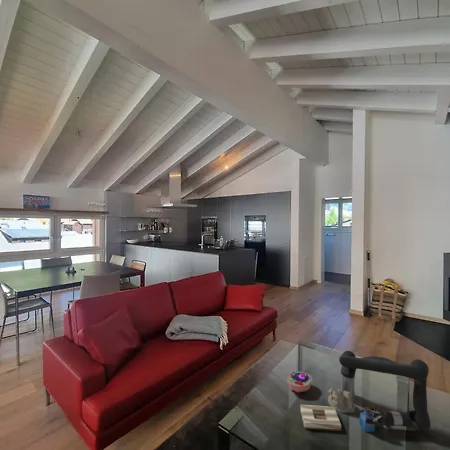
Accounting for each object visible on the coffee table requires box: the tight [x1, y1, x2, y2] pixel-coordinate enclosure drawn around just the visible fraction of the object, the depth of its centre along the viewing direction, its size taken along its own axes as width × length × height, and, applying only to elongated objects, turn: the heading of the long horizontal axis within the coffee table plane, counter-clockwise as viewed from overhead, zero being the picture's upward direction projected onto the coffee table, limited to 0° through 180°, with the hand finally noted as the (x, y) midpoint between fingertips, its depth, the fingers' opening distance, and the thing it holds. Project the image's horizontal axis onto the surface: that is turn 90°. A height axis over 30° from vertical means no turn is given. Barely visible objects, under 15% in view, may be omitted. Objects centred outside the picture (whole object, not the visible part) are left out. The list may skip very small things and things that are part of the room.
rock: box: [327, 387, 356, 414], centre depth 184 cm, size 16×16×15 cm
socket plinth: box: [299, 404, 342, 432], centre depth 171 cm, size 15×22×4 cm
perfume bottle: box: [359, 406, 376, 433], centre depth 164 cm, size 6×6×12 cm
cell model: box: [286, 370, 313, 393], centre depth 200 cm, size 17×20×11 cm
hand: (363, 416), depth 164 cm, fingers closed on perfume bottle, 7 cm apart
